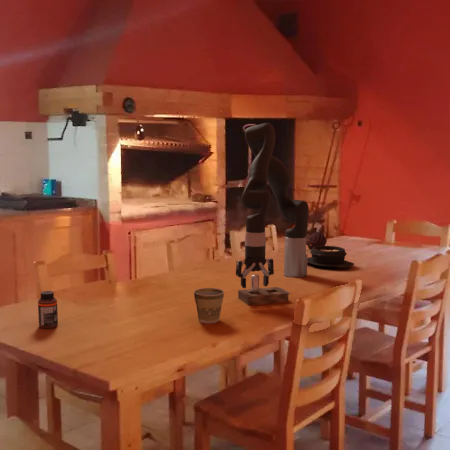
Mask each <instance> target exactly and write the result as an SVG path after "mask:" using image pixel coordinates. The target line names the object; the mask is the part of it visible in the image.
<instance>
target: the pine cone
mask: <svg viewBox="0 0 450 450" xmlns="http://www.w3.org/2000/svg"><path fill="white" fill-rule="evenodd" d="M327 241H328V239H327V237H326V236H325V235H324V233H322V232H319V231H318V232H314V233H311V234H310V235H309V236H308V237H306V246H307V247H308V250H309V251H312V248H313V247H317V246H327V245H326V244H327Z"/></svg>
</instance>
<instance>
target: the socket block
mask: <svg viewBox="0 0 450 450" xmlns="http://www.w3.org/2000/svg"><path fill="white" fill-rule="evenodd" d="M280 288H281V287H278V286H273V287H270V286H269V287H261V288H260V287H259V294H251V288H250V289H247V288H246V289H238V290H237V294H238V295H237V296H238V297H237V298H238V300H240V301H241V302H242V303H244V304H246V305H247V306H255V305H267V304H276V303H278V304H279V303H288V302H289V295H290V294H289V293H290V292H289V293H287V292H288V291H287V292H285V291H286V290H285V289H284V290H285V291H284V290H282V289H283V288H282V289H280Z"/></svg>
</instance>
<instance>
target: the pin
mask: <svg viewBox="0 0 450 450" xmlns="http://www.w3.org/2000/svg"><path fill="white" fill-rule="evenodd" d="M259 288H260V274H251V275H250V289H251V294H259Z"/></svg>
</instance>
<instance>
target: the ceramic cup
mask: <svg viewBox="0 0 450 450" xmlns="http://www.w3.org/2000/svg"><path fill="white" fill-rule="evenodd" d="M224 294H225V291H224V290H222V289H221V288H215V287H204V288H203V287H202V288H198V289H195V290H194V291H193V297H194V301H195V305H196V311H197V317H198V320H199V322H200V323H201V324H202V323H203V324H205V325H207V324H209V325H210V324H216V323H218V322H219V321H220V316H221V311H222V306H223V301H224Z"/></svg>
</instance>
